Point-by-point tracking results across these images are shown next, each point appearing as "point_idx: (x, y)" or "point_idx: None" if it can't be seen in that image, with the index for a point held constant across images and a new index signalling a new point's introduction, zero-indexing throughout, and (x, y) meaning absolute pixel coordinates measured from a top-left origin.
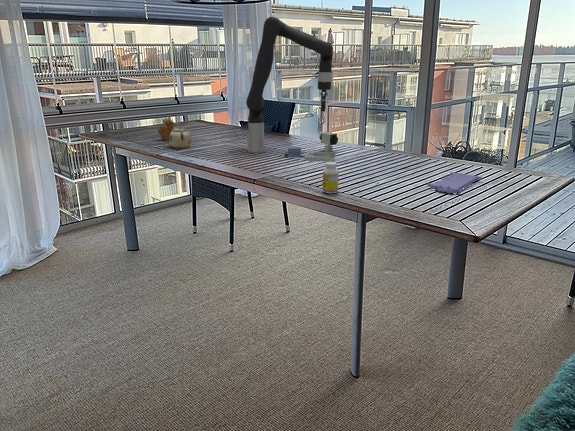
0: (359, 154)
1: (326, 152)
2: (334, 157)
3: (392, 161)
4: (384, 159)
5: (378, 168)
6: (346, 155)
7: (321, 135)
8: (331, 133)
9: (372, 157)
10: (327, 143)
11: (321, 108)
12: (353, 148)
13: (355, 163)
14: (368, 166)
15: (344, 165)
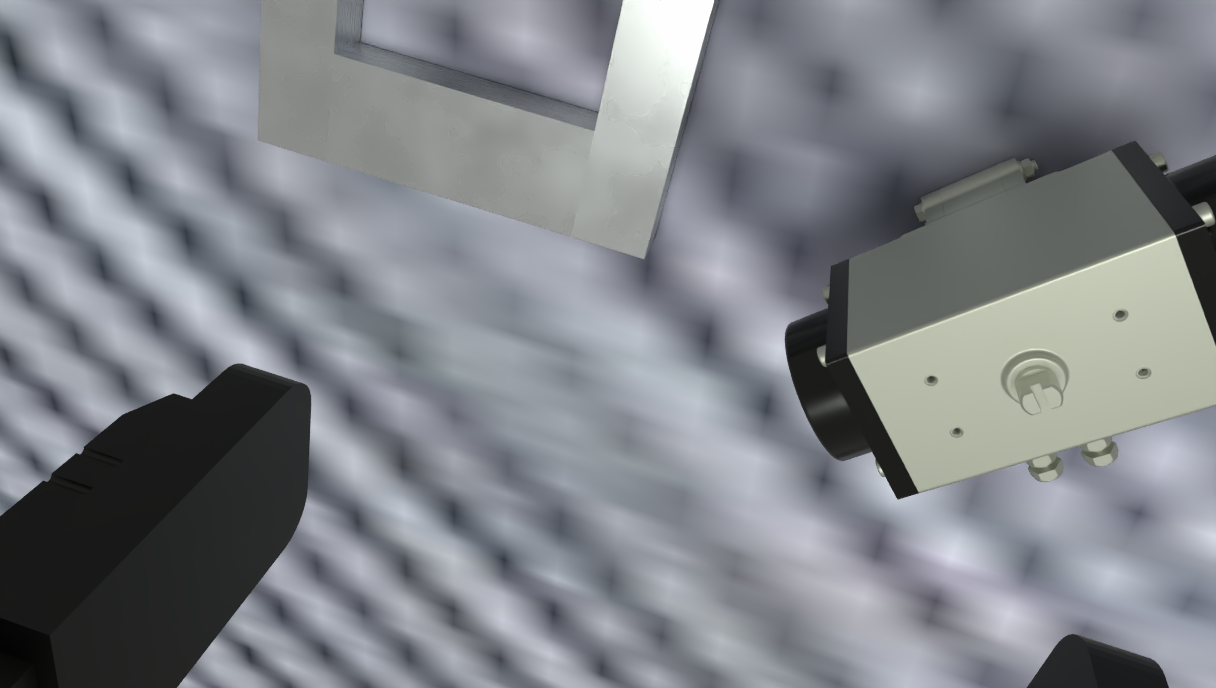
0: (684, 548)
1: (624, 111)
2: (273, 144)
3: (332, 684)
4: (414, 663)
5: (41, 471)
6: (643, 386)
7: (1163, 202)
8: (992, 419)
9: (509, 606)
10: (920, 236)
11: (153, 455)
12: (1101, 622)
13: (208, 343)
14: (98, 418)
15: (92, 192)
